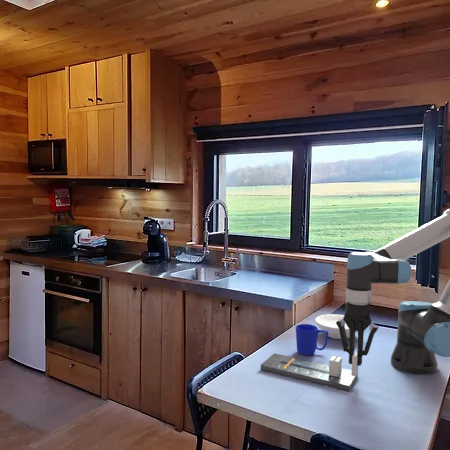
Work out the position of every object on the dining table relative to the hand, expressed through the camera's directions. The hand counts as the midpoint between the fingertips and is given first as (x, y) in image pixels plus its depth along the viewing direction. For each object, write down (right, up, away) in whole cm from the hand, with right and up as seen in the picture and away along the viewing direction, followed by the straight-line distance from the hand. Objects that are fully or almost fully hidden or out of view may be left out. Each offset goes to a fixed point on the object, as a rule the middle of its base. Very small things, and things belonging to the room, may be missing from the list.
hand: (354, 374), depth 136 cm
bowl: (+7, 0, +45) cm, 45 cm away
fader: (-5, -1, +3) cm, 6 cm away
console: (-13, -3, +8) cm, 16 cm away
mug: (-9, -1, +26) cm, 27 cm away
